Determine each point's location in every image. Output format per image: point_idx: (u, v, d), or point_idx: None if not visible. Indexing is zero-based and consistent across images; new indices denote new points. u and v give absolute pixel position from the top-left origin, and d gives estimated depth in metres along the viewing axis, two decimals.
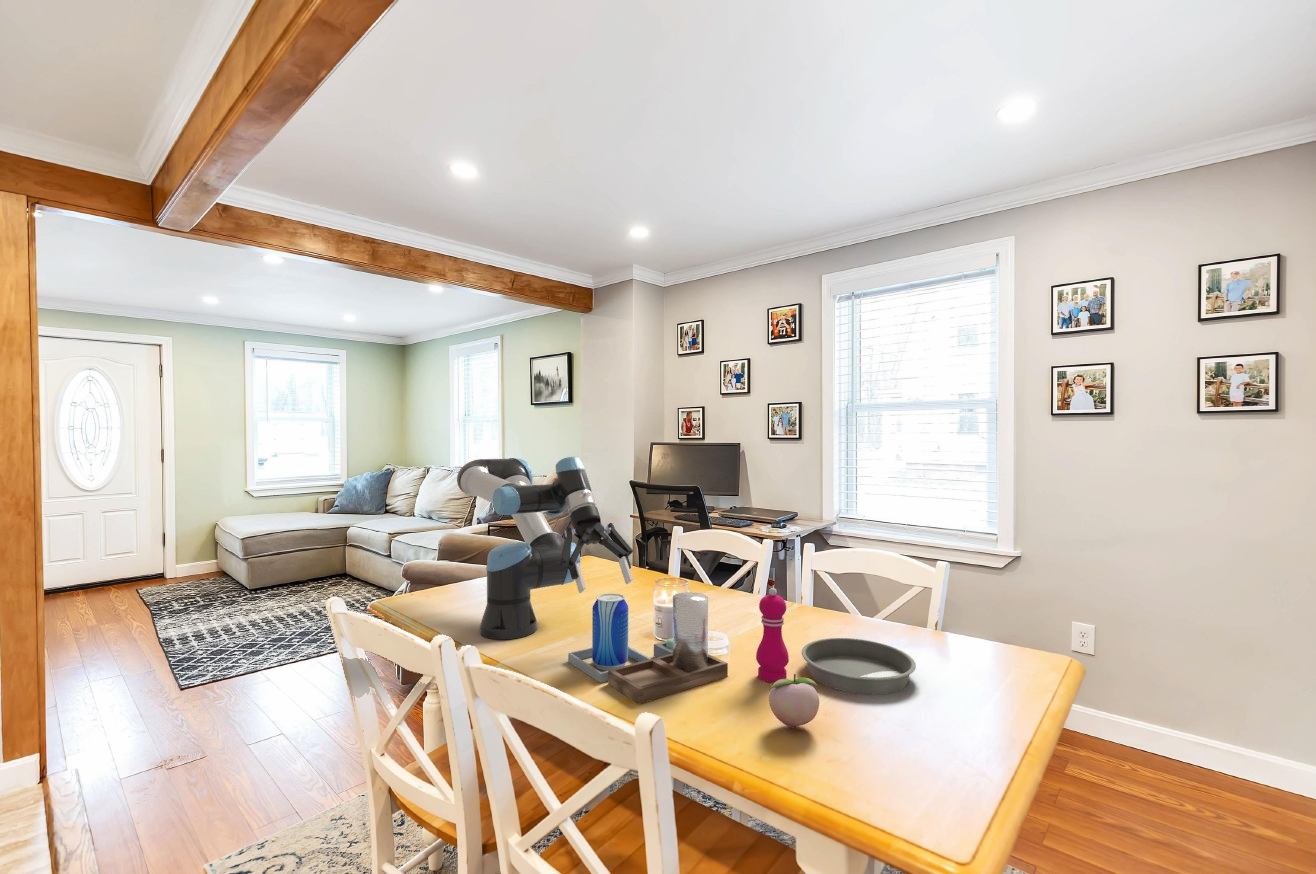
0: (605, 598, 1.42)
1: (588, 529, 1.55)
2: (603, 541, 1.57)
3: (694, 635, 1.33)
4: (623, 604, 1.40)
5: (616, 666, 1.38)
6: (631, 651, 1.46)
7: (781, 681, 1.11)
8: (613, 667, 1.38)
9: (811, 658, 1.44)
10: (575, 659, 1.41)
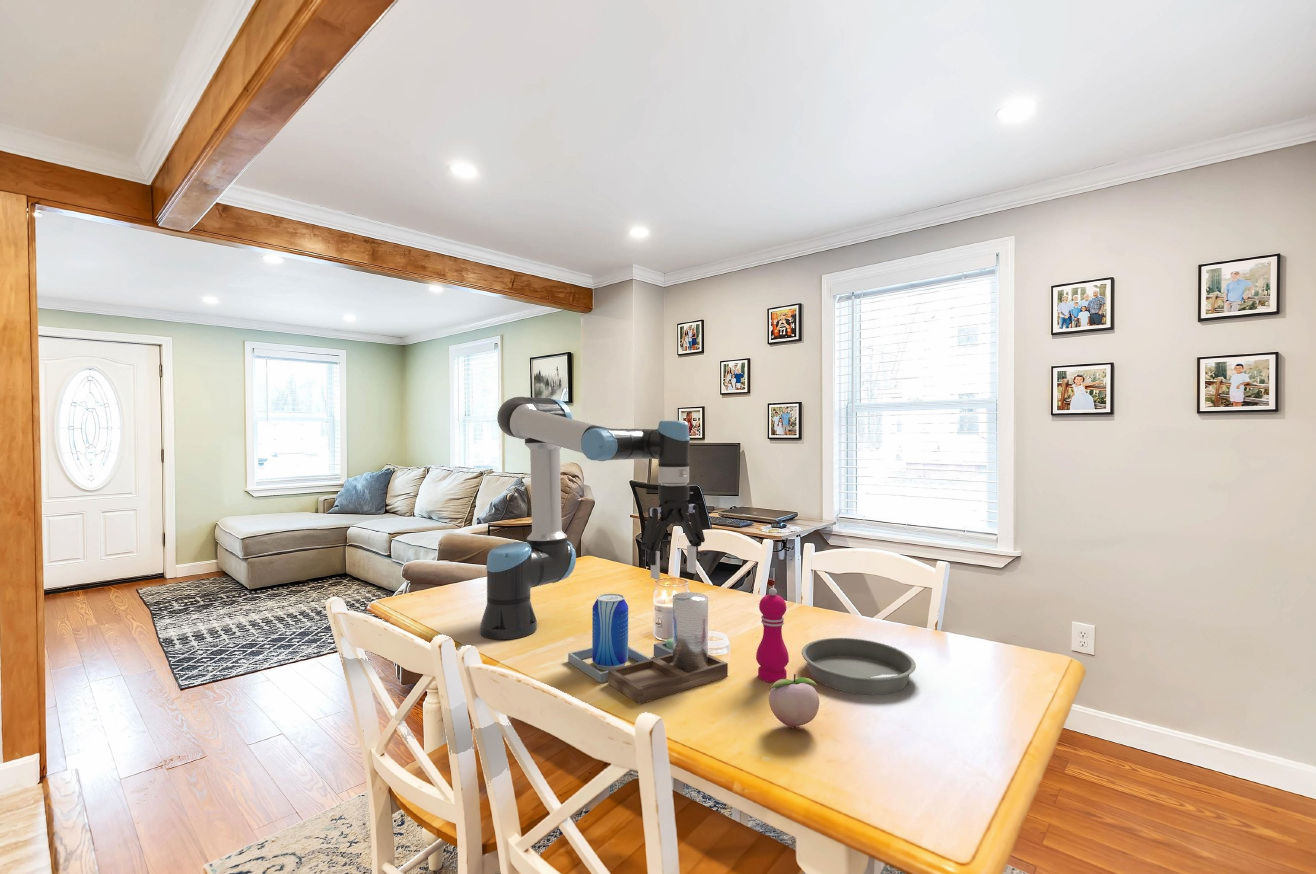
0: (605, 598, 1.42)
1: (674, 511, 1.44)
2: (682, 522, 1.48)
3: (694, 635, 1.33)
4: (623, 604, 1.40)
5: (616, 666, 1.38)
6: (631, 651, 1.46)
7: (781, 681, 1.11)
8: (613, 667, 1.38)
9: (811, 658, 1.44)
10: (575, 659, 1.41)
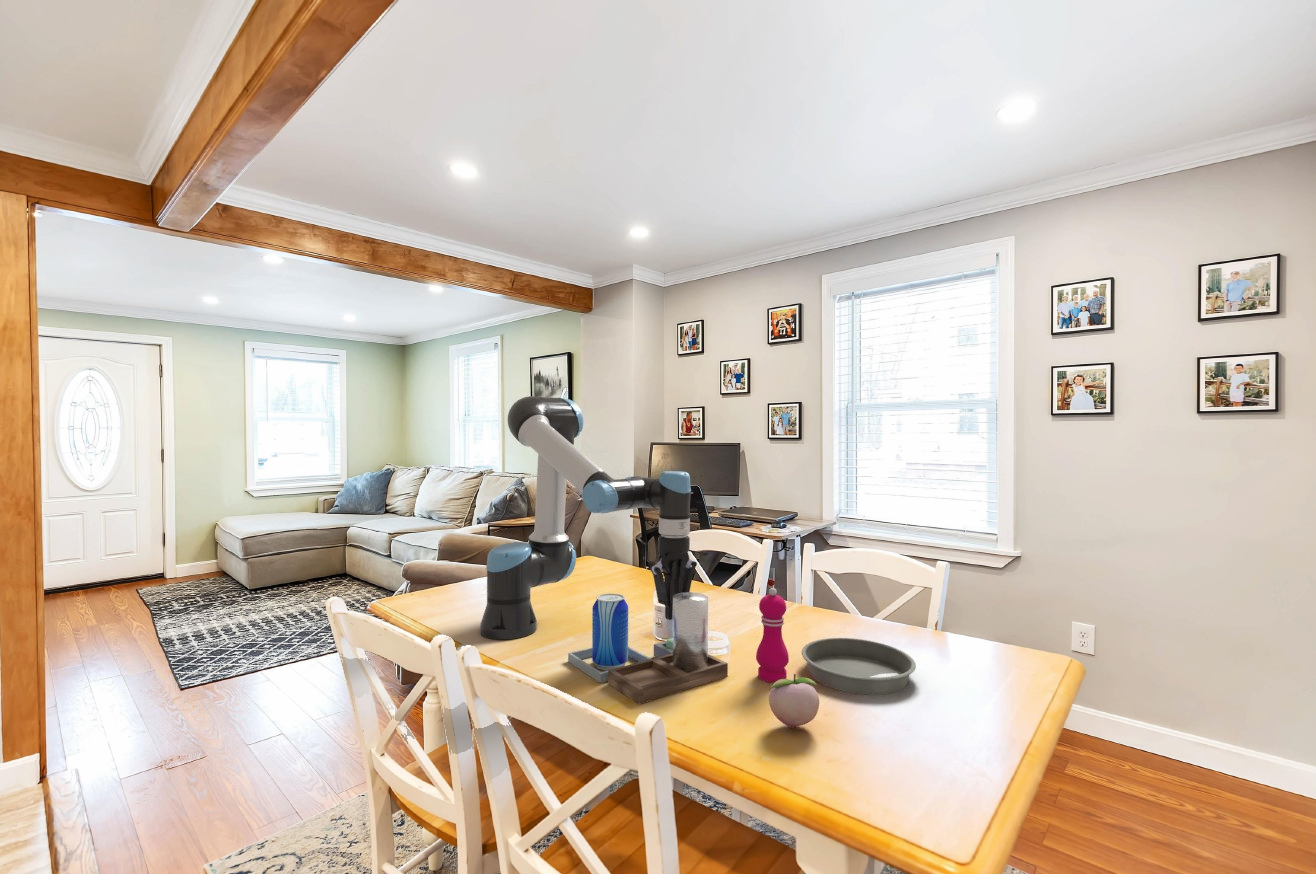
0: (605, 598, 1.42)
1: (674, 563, 1.44)
2: (676, 575, 1.47)
3: (694, 635, 1.33)
4: (623, 604, 1.40)
5: (616, 666, 1.38)
6: (631, 651, 1.46)
7: (781, 681, 1.11)
8: (613, 667, 1.38)
9: (811, 658, 1.44)
10: (575, 659, 1.41)
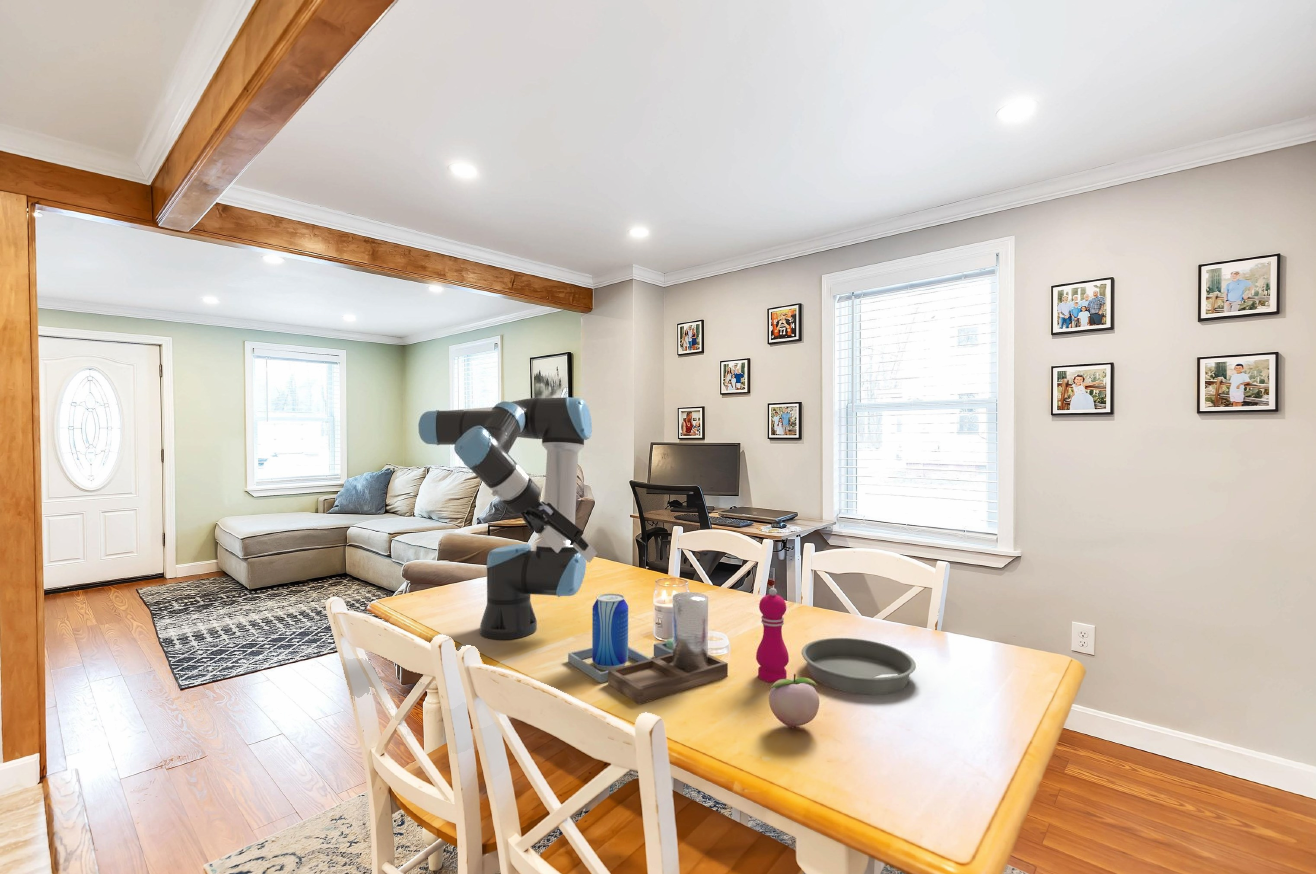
0: (605, 598, 1.42)
1: (525, 515, 1.30)
2: None
3: (694, 635, 1.33)
4: (623, 604, 1.40)
5: (616, 666, 1.38)
6: (631, 651, 1.46)
7: (781, 681, 1.11)
8: (613, 667, 1.38)
9: (811, 658, 1.44)
10: (575, 659, 1.41)
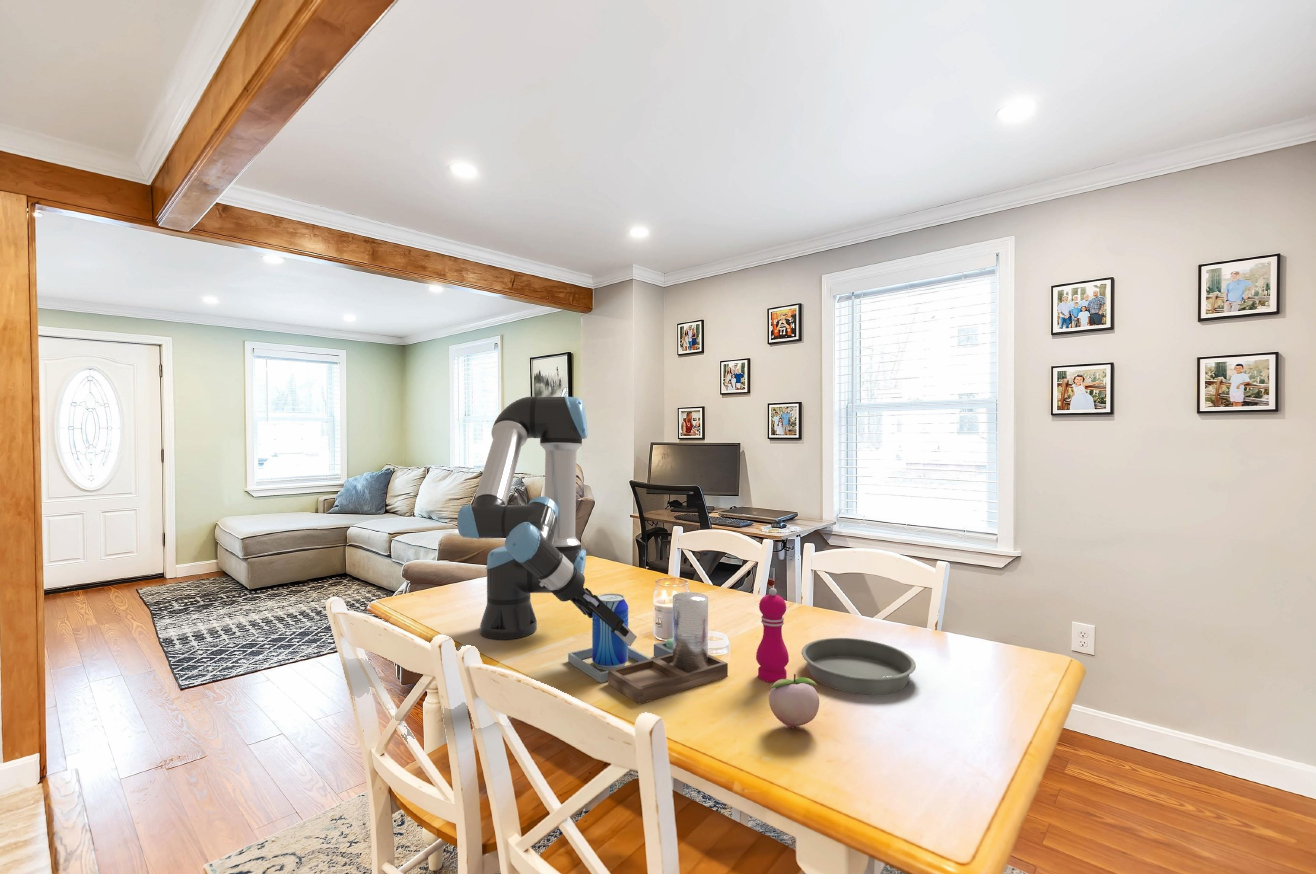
0: (605, 598, 1.42)
1: (571, 600, 1.37)
2: None
3: (694, 635, 1.33)
4: (623, 603, 1.40)
5: (616, 666, 1.38)
6: (631, 651, 1.46)
7: (781, 681, 1.11)
8: (613, 667, 1.38)
9: (811, 658, 1.44)
10: (575, 659, 1.41)
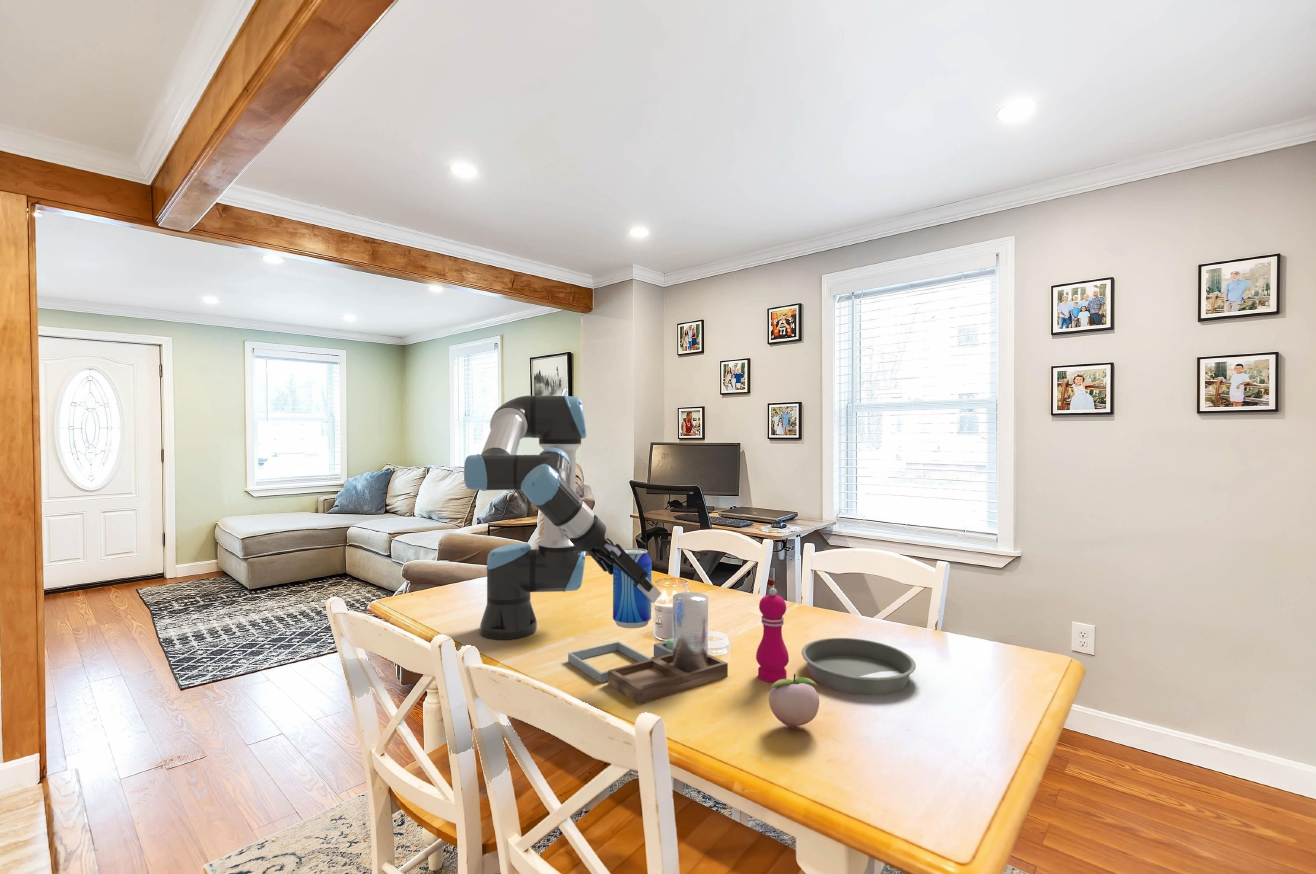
0: (627, 552, 1.33)
1: (591, 552, 1.28)
2: None
3: (694, 635, 1.33)
4: (646, 557, 1.31)
5: (639, 623, 1.29)
6: (631, 651, 1.46)
7: (781, 681, 1.11)
8: (635, 624, 1.29)
9: (811, 658, 1.44)
10: (575, 659, 1.41)
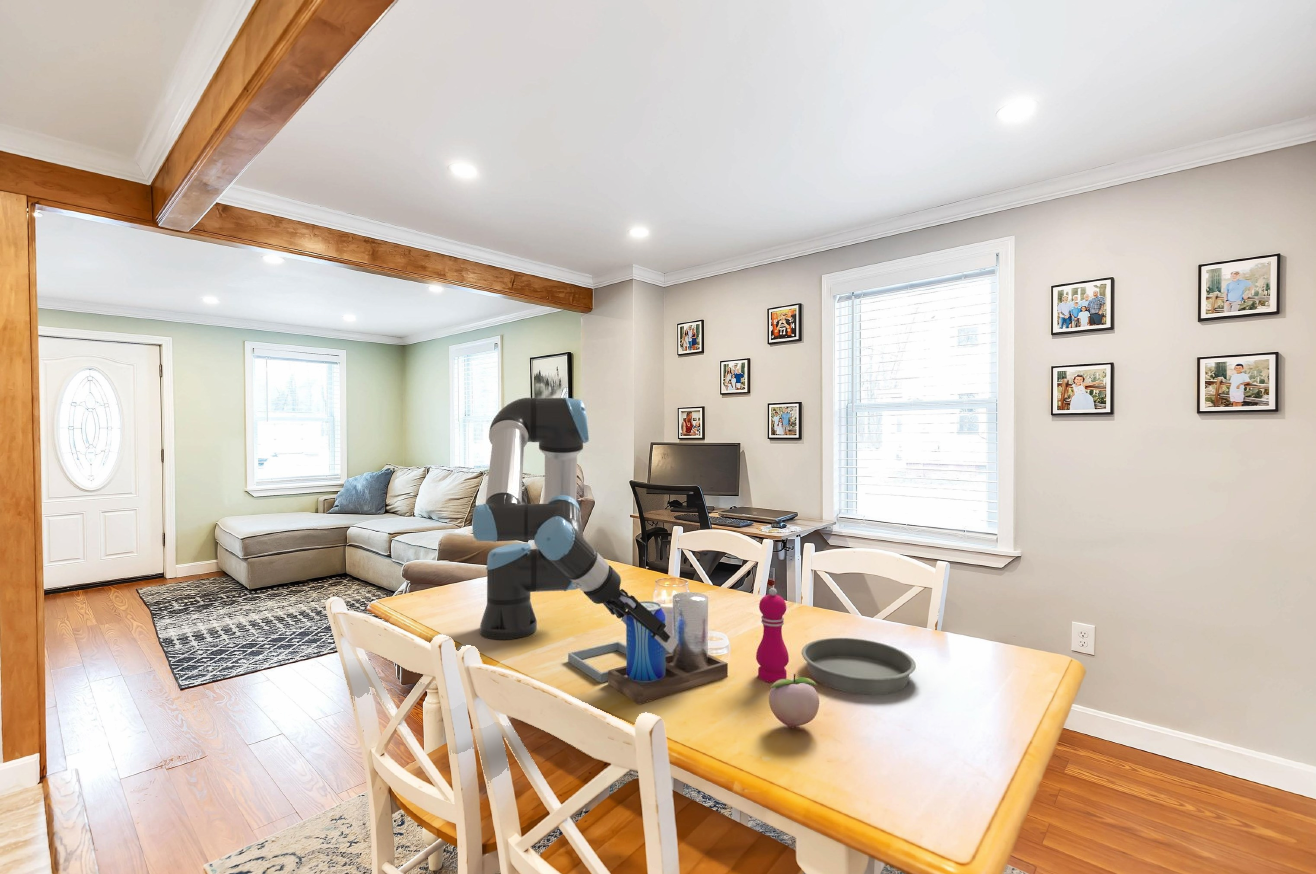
0: None
1: (605, 603, 1.25)
2: None
3: (694, 635, 1.33)
4: (660, 613, 1.28)
5: (653, 681, 1.26)
6: None
7: (781, 681, 1.11)
8: (650, 682, 1.26)
9: (811, 658, 1.44)
10: (575, 659, 1.41)
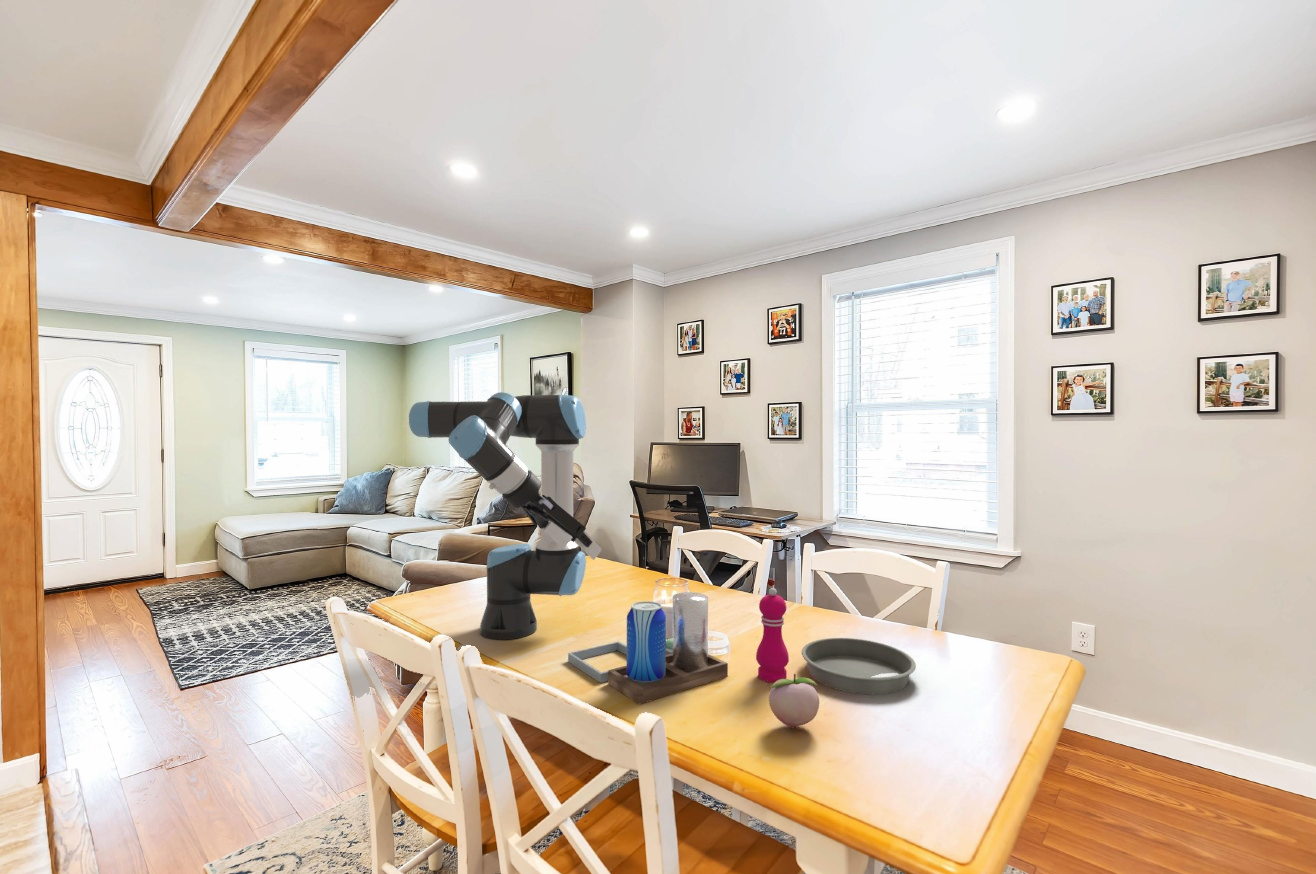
0: (640, 606, 1.30)
1: (526, 509, 1.23)
2: None
3: (694, 635, 1.33)
4: (660, 613, 1.28)
5: (653, 681, 1.26)
6: None
7: (781, 681, 1.11)
8: (650, 682, 1.26)
9: (811, 658, 1.44)
10: (575, 659, 1.41)
